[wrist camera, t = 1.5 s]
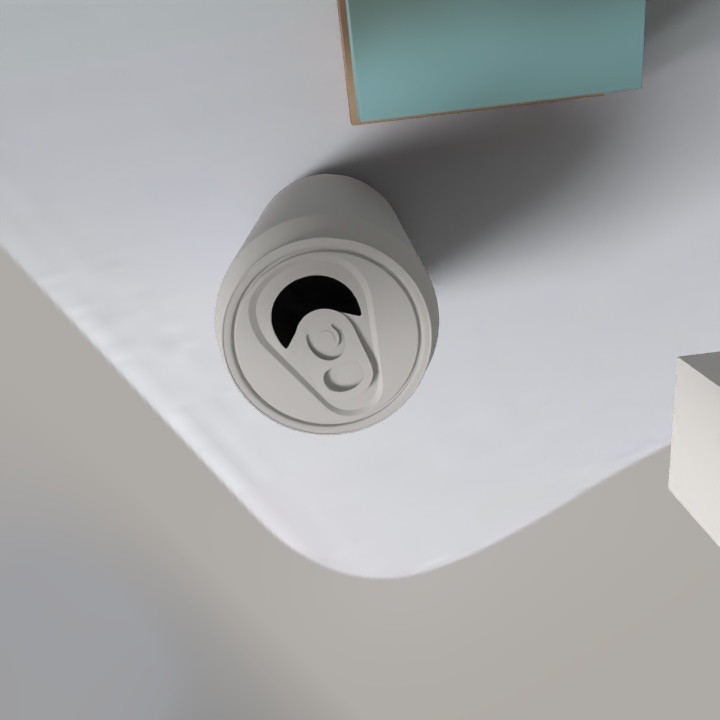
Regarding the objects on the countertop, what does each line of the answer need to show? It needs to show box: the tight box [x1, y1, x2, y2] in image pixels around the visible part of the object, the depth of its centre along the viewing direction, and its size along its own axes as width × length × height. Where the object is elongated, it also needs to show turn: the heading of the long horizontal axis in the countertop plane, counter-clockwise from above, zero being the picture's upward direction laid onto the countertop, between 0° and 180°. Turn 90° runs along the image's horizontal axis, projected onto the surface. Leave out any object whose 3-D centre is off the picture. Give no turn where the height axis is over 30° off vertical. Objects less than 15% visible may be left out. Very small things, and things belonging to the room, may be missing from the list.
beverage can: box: [215, 174, 439, 435], centre depth 23 cm, size 6×6×12 cm
